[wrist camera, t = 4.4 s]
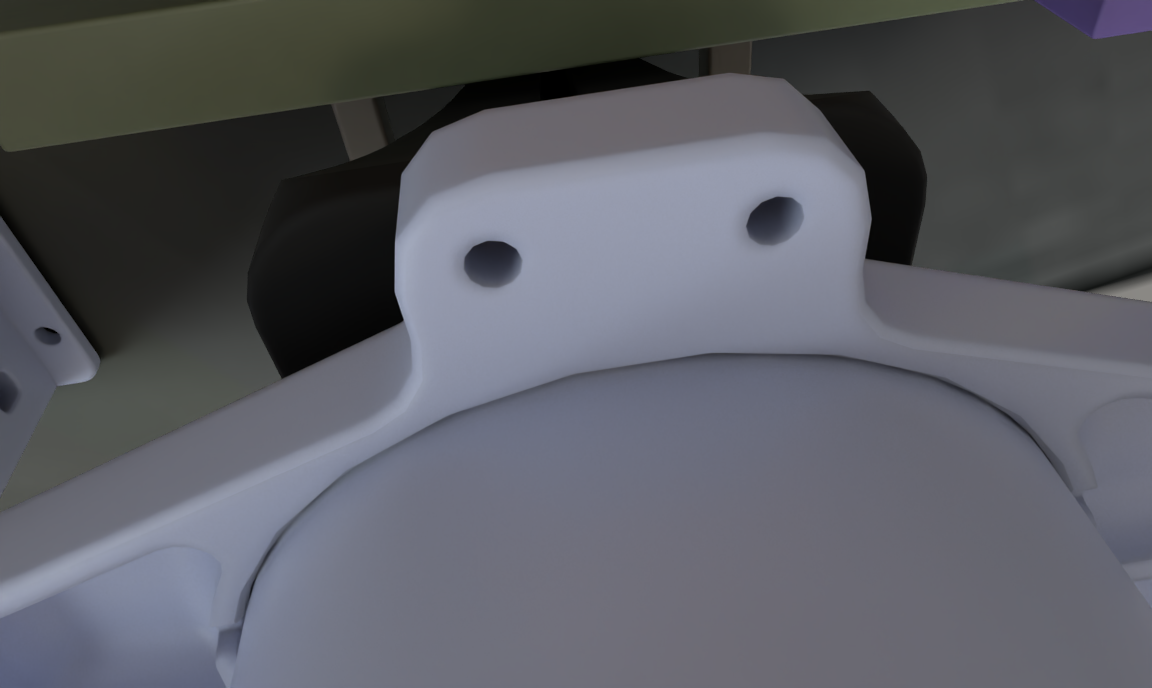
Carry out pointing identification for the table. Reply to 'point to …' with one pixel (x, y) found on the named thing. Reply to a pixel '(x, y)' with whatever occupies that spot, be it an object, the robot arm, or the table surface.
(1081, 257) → the table surface
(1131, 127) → the table surface
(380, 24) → the drawer
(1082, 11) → the purple block cream band
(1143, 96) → the table surface
